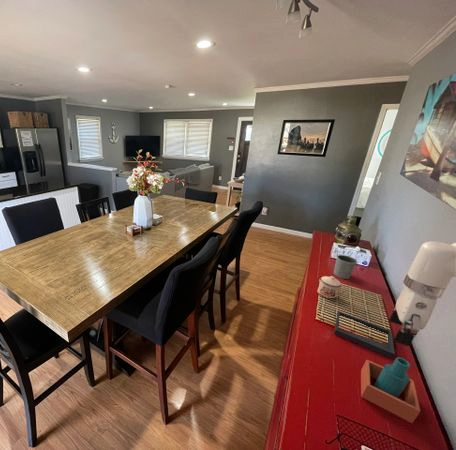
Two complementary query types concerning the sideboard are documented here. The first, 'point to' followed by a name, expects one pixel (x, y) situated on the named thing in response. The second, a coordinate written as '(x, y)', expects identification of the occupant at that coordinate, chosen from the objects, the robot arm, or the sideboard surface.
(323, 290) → the teacup with lid
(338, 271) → the grey cup
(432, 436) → the sideboard surface
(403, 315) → the robot arm
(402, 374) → the bottle
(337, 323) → the dark gray rectangular frame
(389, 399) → the bin
